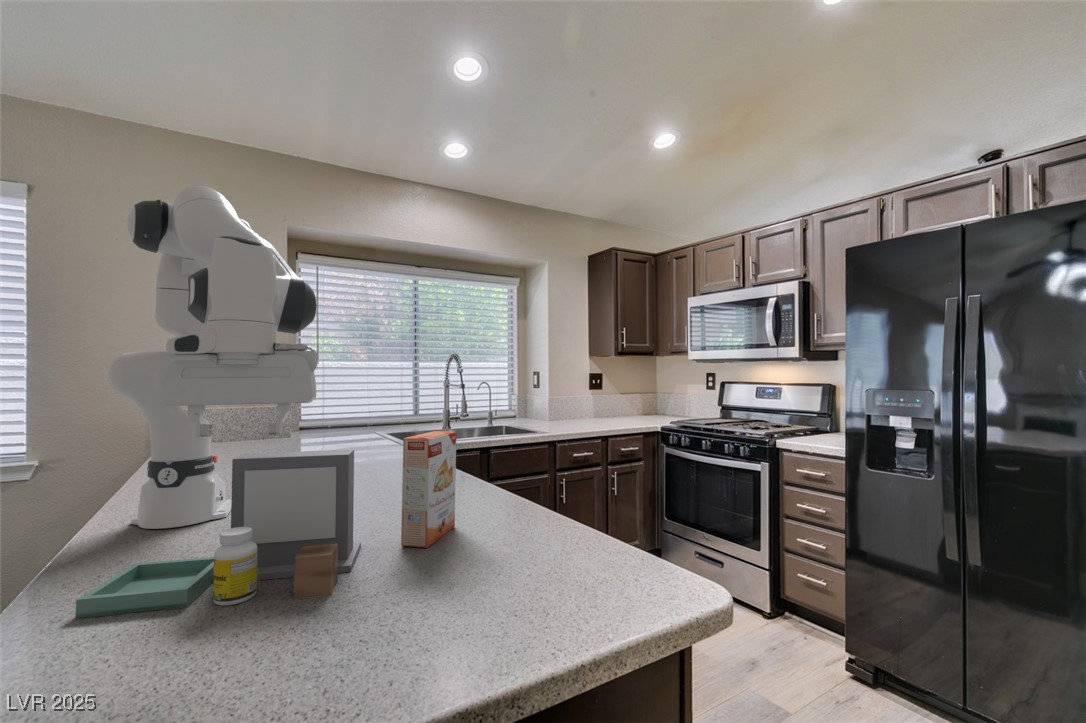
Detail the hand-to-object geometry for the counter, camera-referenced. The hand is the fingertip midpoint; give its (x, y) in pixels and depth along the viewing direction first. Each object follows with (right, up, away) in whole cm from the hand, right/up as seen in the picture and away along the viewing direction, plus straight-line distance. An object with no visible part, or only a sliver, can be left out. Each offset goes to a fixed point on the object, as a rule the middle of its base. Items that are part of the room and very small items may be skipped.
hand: (240, 435), depth 70 cm
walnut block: (+11, -24, +1) cm, 26 cm away
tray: (-13, -24, +1) cm, 27 cm away
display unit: (+2, -24, +12) cm, 27 cm away
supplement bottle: (0, -24, -1) cm, 24 cm away
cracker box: (+22, -25, +26) cm, 42 cm away
